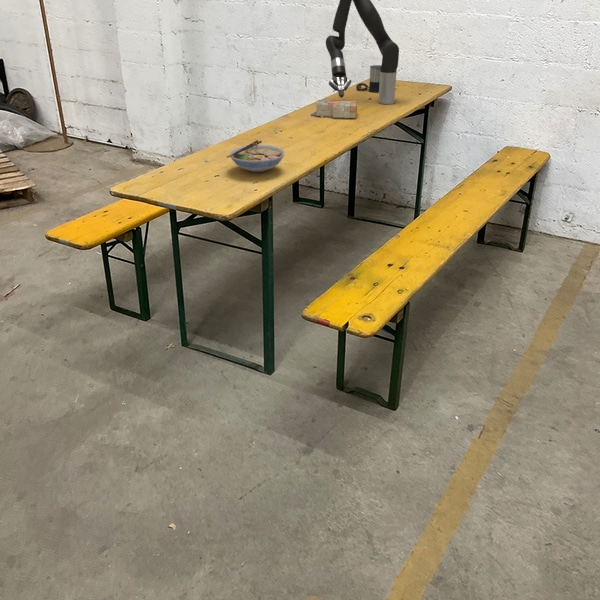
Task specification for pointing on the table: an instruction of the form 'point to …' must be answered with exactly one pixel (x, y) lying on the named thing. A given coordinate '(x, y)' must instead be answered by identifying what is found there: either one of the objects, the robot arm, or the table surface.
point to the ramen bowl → (257, 156)
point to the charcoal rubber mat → (326, 116)
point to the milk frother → (372, 80)
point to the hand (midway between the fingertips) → (341, 96)
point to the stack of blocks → (337, 108)
